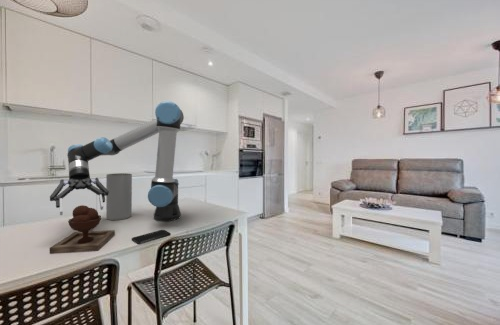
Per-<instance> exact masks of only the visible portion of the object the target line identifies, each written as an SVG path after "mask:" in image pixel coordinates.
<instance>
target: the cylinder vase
mask: <svg viewBox="0 0 500 325" xmlns="http://www.w3.org/2000/svg"><path fill="white" fill-rule="evenodd" d="M105 179H106V187H105V188H106V189H107V190H108V191H109V193H108V195H107V196H105V203H106V208H105V209H106V213H105V214H106V215H105V216H106V217H105V218H106V219H107V220H110V221H119V220H125V219H128V218H130V217H131V216H132V212H133V209H132V207H133V206H132V205H133V202H132V200H133V197H132V196H133V186H132V185H133V182H132V181H133V174H132V173H126V172H124V173H123V172H122V173H107V174H106V178H105Z"/></svg>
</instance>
